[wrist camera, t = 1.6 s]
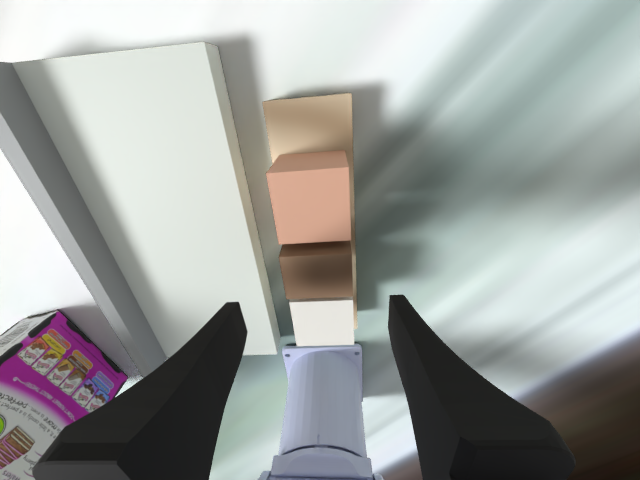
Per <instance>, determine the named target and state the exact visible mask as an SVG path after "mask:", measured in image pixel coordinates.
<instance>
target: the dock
mask: <svg viewBox="0 0 640 480" xmlns="http://www.w3.org/2000/svg"><path fill="white" fill-rule="evenodd" d="M0 149H1V150H2V152H3V153H4V155H5V157H6V158H7V160H8V161H9V163H10V165H11V166H12V168H13V169H14V171H15V173H16V174H17V176H18V177H19V179H20V181H21V182H22V184H23V186H24V187H25V189H26V190H27V192H28V194H29V195H30V197H31V198H32V200H33V202H34V203H35V205H36V206H37V208H38V210H39V211H40V213H41V214H42V216H43V218H44V219H45V221H46V222H47V224H48V226H49V227H50V229H51V231H52V232H53V234H54V235H55V237H56V239H57V240H58V242H59V243H60V245H61V247H62V248H63V250H64V251H65V253H66V255H67V256H68V258H69V259H70V261H71V263H72V264H73V266H74V267H75V269H76V271H77V272H78V274H79V276H80V277H81V279H82V280H83V282H84V284H85V285H86V287H87V288H88V290H89V292H90V293H91V295H92V296H93V298H94V300H95V301H96V303H97V304H98V306H99V308H100V309H101V311H102V312H103V314H104V316H105V317H106V319H107V321H108V322H109V324H110V325H111V327H112V329H113V330H114V332H115V333H116V335H117V337H118V338H119V340H120V341H121V343H122V345H123V346H124V348H125V349H126V351H127V353H128V354H129V356H130V357H131V359H132V361H133V362H134V364H135V366H136V367H137V369H138V370H139V372H140V374H141V375H142V377H146V376H147V375H149V374H150V373H151V372H153V371H154V370H155V369H157V368H158V367H159V366H160V365H162V364H163V363H164V361H165V359H166V358H167V357H171V356H172V355H174V354H175V353H176V352H177V351H178V350H179V349H180V348H181V347H182V346H183V345H185V344H186V343H187V342H188V341H189V340H190V339H191V338H192V337H193V336H194V335H195V334H196V333H197V332H198V331H199V330H200V329H201V328H202V327H203V326H204V325H205V324H206V323H207V322H208V321H209V320H210V319H211V318H212V317H213V316H214V315H215V314H216V313H217V312H218V310H219V309H220V308H221V307H222V306H223V305H224V304H225V303H226V302H239V304H240V307H241V311H242V314H243V318H244V321H245V324H246V328H247V331H248V333H247V338H246V343H245V348H244V352H243V355H270V354H277V353H278V348H279V343H280V338H281V336H280V332H279V327H278V323H277V318H276V313H275V309H274V304H273V299H272V295H271V290H270V286H269V281H268V276H267V272H266V267H265V262H264V258H263V253H262V249H261V244H260V239H259V235H258V230H257V226H256V221H255V216H254V212H253V207H252V202H251V198H250V193H249V189H248V184H247V179H246V175H245V170H244V165H243V161H242V156H241V152H240V147H239V142H238V138H237V133H236V128H235V124H234V119H233V115H232V110H231V105H230V101H229V96H228V91H227V87H226V82H225V78H224V73H223V68H222V64H221V59H220V54H219V50H218V46H215V45H212V44H209V43H206V42H197V43H188V44H179V45H170V46H161V47H152V48H143V49H133V50H124V51H115V52H106V53H97V54H88V55H79V56H69V57H60V58H51V59H42V60H33V61H24V62H15V63H7V62H0Z"/></svg>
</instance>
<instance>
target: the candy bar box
mask: <svg viewBox="0 0 640 480" xmlns="http://www.w3.org/2000/svg"><path fill="white" fill-rule="evenodd" d="M127 379H128V378H127V376H126V375H125V374H124V373H123V372H122V371H121V370H120V369H119V368H118V367H117V366H116V365H115V364H114V363H113V362H112V361H111V360H110V359H109V358H108V357H107V356H106V355H105V354H103V353H102V352H101V351H100V350H99V349H98V348H97V347H96V346H95V345H94V344H93V343H92V342H91V341H90V340H89V339H88V338H87V337H86V336H85V335H84V334H83V333H82V332H81V331H80V330H79V329H77V328H76V327H75V326H74V325H73V324H72V323H71V322H70V321H69V320H68V319H67V318H66V317H65V316H64V315H63V314H62V313H61V312H59V311H53V312H49V313H46V314H42V315H37V316H32V317H28V318H25V319H22V320H20V321H19V322H17V323H16V324H15V325H13V326H12V327H11V328H9V329H8V330H7V331H6V332H4V333H3V334H2V335H0V480H35V479H34V477H33V475H32V470H33V467H34V466H35V464H36V463H37V462H38V460H39V459H40V458H41V457H42V455H43V454H44V453H45V451H46V450H47V449H48V447H49V446H50V445H51V444H52V442H53V441H54V440H55V438H56V437H57V436H58V435H59V433H60V432H61V431H62V430H63V428H64V427H65V426H67V425H69V424H71V423H73V422H74V421H76V420H78V419H80V418H81V417H83V416H85V415H87V414H89V413H90V412H92V411H94V410H96V409H97V408H99V407H101V406H102V405H104V404H106V403H107V402H109V401H110V400H112V399H114V398H115V396H116V395H117V394H118V392H119V391H120V389H121V388H122V386H123V385H124V383H125V382H126V380H127Z"/></svg>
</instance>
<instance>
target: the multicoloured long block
mask: <svg viewBox="0 0 640 480" xmlns="http://www.w3.org/2000/svg"><path fill="white" fill-rule="evenodd" d="M262 103H263V109H264V115H265V121H266V127H267V134H268V140H269V146H270V152H271V158H272V164H273V163H274V162H275V160H276V159H277V158H278V156H279V155H287V154H299V153H312V152H324V151H337V150H345V153H346V157H347V162H348V166H349V192H350V221H351V240H348V241H330V242H313V243H296V244H283V245H282V248H281V251H280V255H279V262H280V267H281V273H282V278H283V284H284V289H285V294H286V299H304V298H328V297H352V296H353V315H354V329H357V293H356V251H355V210H354V168H353V126H352V94H351V93H342V94H331V95H326V96H310V97H300V98H294V99H277V100H268V101H264V102H262Z"/></svg>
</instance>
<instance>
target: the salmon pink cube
mask: <svg viewBox="0 0 640 480" xmlns="http://www.w3.org/2000/svg"><path fill="white" fill-rule="evenodd" d="M266 176H267V182H268V187H269V193H270V198H271V204H272V209H273V215H274V220H275V226H276V231H277V237H278V242H279V244H296V243H313V242H330V241H348V240H351V221H350V192H349V166H348V162H347V157H346V153H345V150H337V151H324V152H312V153H299V154H287V155H279V156H278V158H277V159H276V160H275V162H274V163H273V164H272V166H271V167H270V169H269V170H268V171H267V173H266Z"/></svg>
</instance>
